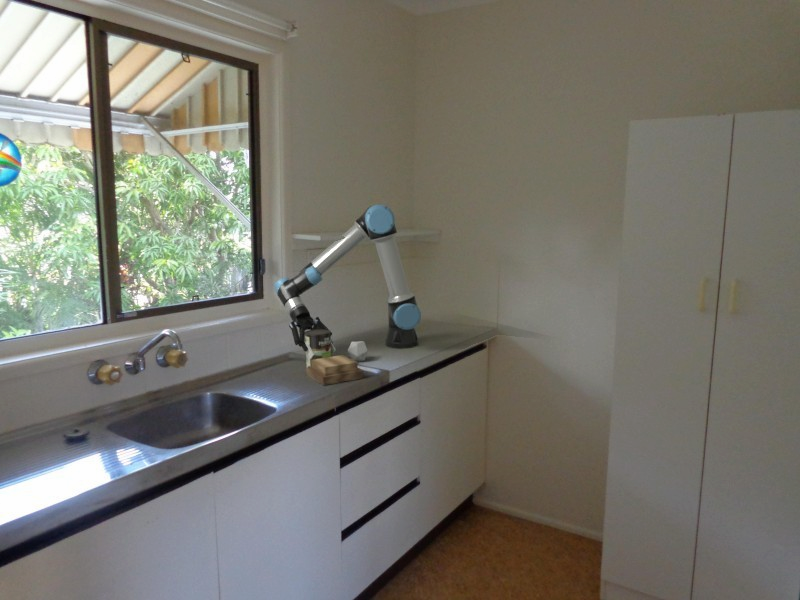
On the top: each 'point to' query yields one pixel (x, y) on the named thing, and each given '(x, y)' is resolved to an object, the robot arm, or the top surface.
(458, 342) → the top surface
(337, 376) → the tower base
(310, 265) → the robot arm
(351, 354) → the die
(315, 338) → the coffee can
